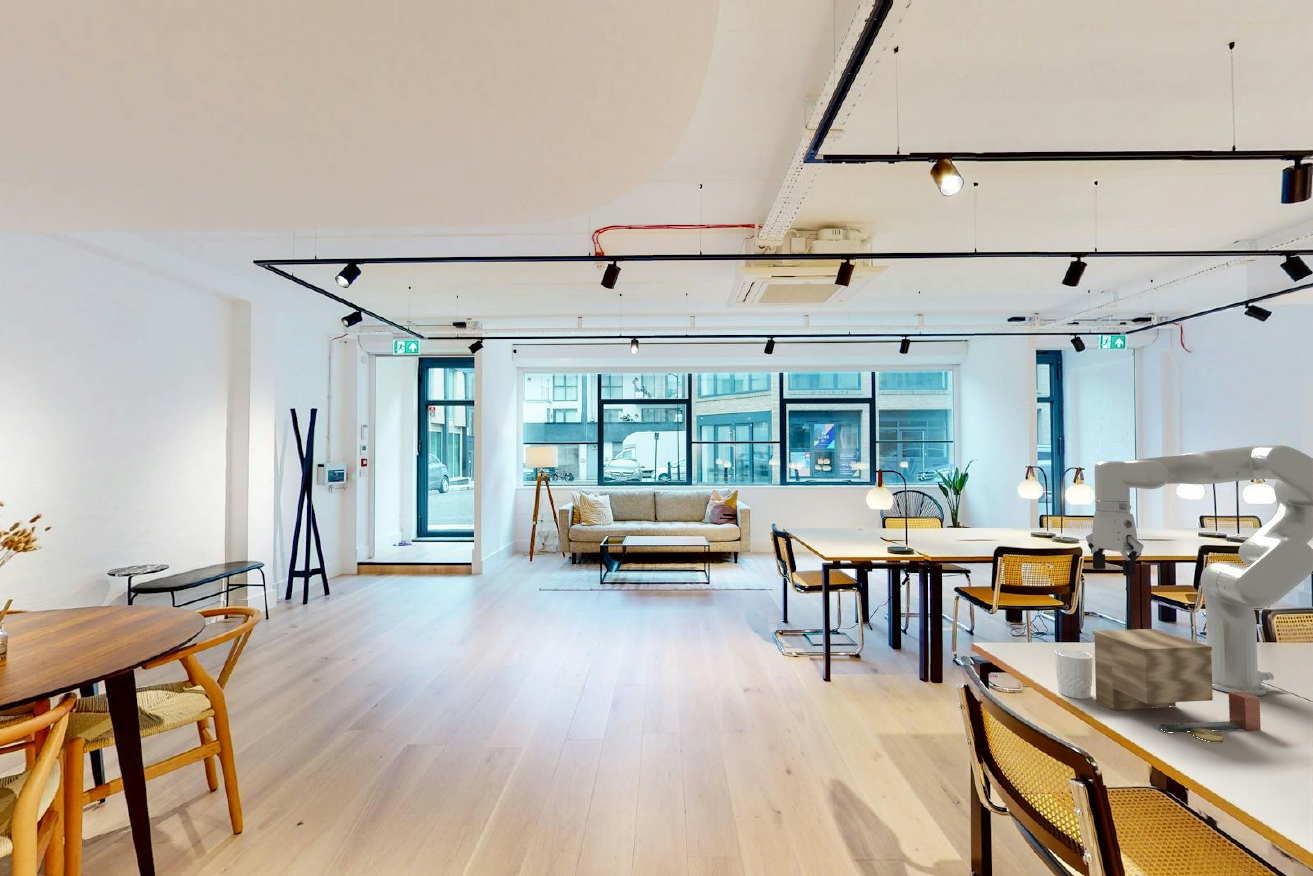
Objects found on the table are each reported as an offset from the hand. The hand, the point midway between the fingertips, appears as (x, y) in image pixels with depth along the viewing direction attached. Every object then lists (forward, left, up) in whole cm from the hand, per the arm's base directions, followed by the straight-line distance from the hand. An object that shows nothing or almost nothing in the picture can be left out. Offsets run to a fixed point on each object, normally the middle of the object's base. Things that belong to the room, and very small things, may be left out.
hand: (1113, 572), depth 166 cm
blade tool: (+5, +29, -28) cm, 41 cm away
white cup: (+18, +8, -28) cm, 35 cm away
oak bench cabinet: (+9, +20, -28) cm, 36 cm away
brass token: (+9, +33, -29) cm, 45 cm away
